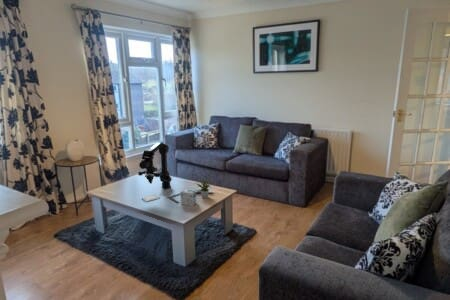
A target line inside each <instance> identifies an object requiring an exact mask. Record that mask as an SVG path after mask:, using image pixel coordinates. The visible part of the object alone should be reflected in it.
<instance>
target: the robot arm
mask: <svg viewBox="0 0 450 300" xmlns="http://www.w3.org/2000/svg"><path fill="white" fill-rule="evenodd" d="M169 149H170V148H169V145H168V144H165V143H164V142H162V141H157V142H155V144H154V145H152V146H151V147H150V148H146V149H145V150H144V151H143V153H142V156H141V161H140V162H139V164H138V165H139V166H138V167H139V168H140V169H142V170H140V171H138V173H137V174H138V175H137V176H139V177H141V176H143V175H144V178H146V180H147V182H148V183H149V184H153V180H154V178H159V180H160V182H161V188H163V189H165V190H166V189H170V188H172V186H171V182H172V179H173V178H172V177H171V176H170V173H169V170H168V154H169ZM157 151H158V153H159V154H160V158H161V159H160V160H161V161H160V163H161V166H160V167H161V171H158V167H156V166H155V165H154V156H155V155H156V154H155V153H156V152H157ZM144 169H145V170H144Z"/></svg>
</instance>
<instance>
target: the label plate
mask: <svg viewBox="0 0 450 300" xmlns="http://www.w3.org/2000/svg"><path fill="white" fill-rule="evenodd" d="M158 199H161V197H160V196H158V195H157V194H155V193H154V194H151V195H147V196H144V197H141V200H143V201H145V202H147V203H148V202H151V201H155V200H158Z"/></svg>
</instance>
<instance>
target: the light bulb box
mask: <svg viewBox="0 0 450 300" xmlns="http://www.w3.org/2000/svg"><path fill="white" fill-rule="evenodd" d="M180 193H181V195H180V205H183V206H194V205H196V204H197V190H196V189H185V188H184V189H181V191H180ZM180 193H179V194H180Z"/></svg>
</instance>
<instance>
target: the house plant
mask: <svg viewBox="0 0 450 300" xmlns="http://www.w3.org/2000/svg"><path fill="white" fill-rule="evenodd" d="M212 179H213V178H212V177H211V178H210V179H207V180H206V179H205V177H203V180H201V179H198V182H199V183H198V182H197V183H196V182H195V184H196V185H197V186H196V187H197V188H198V187H200V188H201V189H200V196H201V198H202V199H207V198H208V197H209V192H210V189H209V188H211V184H210V182H211V180H212Z"/></svg>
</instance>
